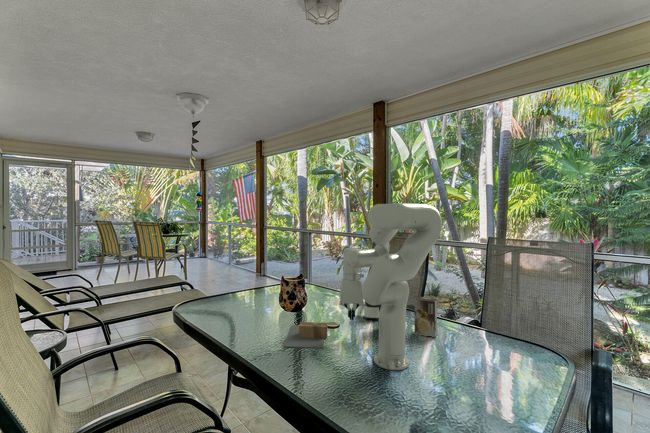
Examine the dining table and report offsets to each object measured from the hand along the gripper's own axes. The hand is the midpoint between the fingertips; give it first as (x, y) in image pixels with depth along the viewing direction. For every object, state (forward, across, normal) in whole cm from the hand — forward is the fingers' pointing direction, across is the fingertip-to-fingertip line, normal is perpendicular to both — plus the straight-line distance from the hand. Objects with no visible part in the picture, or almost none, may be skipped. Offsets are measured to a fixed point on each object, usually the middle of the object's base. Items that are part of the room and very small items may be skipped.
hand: (351, 318), depth 139 cm
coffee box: (+9, -34, -7) cm, 36 cm away
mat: (+8, +20, 0) cm, 21 cm away
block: (+5, +11, 0) cm, 12 cm away
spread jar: (+8, -10, -28) cm, 31 cm away
